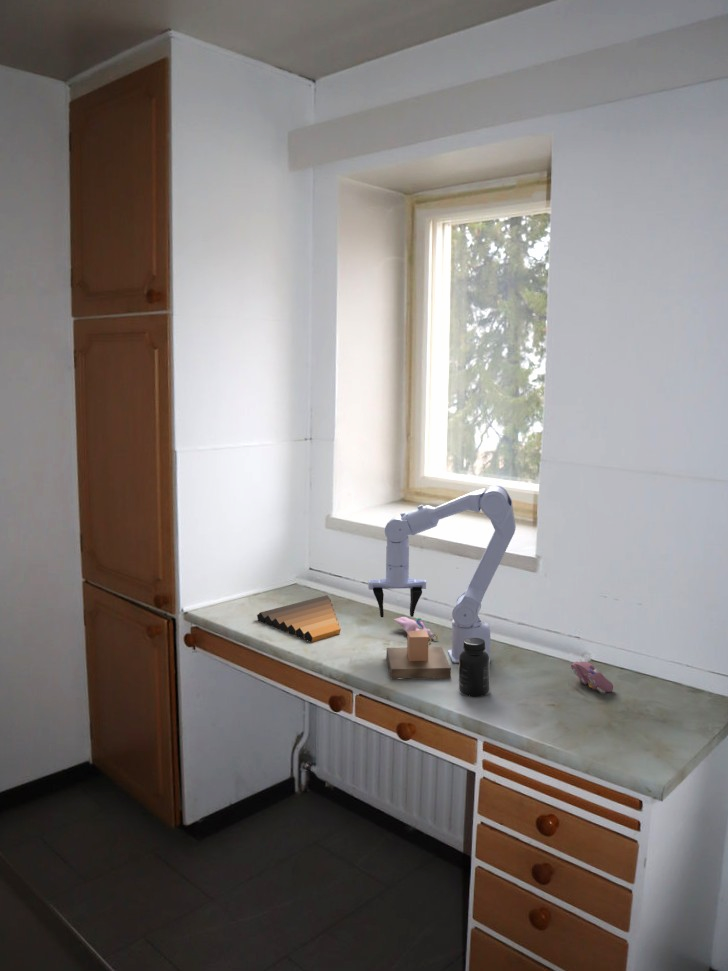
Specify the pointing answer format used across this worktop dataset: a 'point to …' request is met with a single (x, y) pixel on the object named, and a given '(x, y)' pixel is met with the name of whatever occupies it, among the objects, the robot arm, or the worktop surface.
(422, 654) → the rust block
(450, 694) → the worktop surface
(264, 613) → the pan flute
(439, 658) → the walnut base board
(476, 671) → the supplement bottle
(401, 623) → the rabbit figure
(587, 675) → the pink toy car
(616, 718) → the worktop surface
